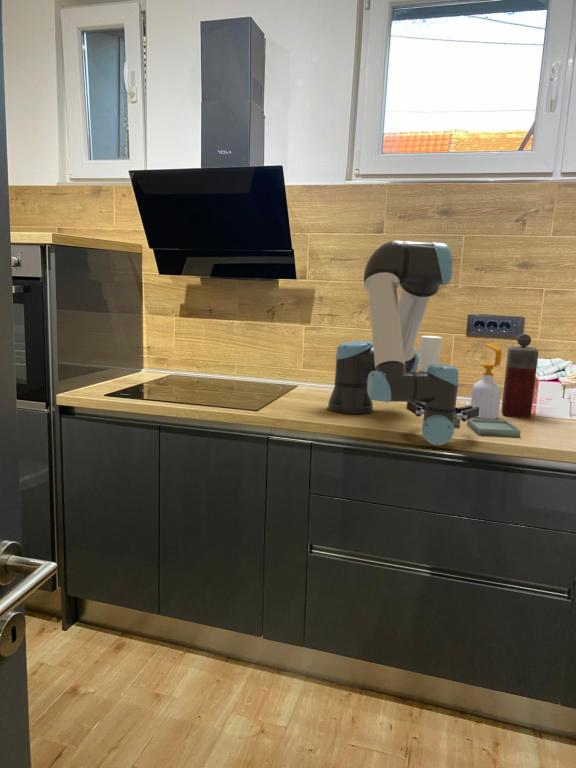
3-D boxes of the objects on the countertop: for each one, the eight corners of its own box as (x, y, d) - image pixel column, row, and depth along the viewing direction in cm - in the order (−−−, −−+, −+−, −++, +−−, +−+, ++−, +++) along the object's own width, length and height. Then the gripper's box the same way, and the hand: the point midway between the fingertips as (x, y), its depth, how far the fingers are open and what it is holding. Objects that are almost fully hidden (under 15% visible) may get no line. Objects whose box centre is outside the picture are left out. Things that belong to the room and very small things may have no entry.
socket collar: (429, 425, 176) (430, 418, 176) (423, 418, 185) (424, 411, 185) (459, 427, 176) (460, 419, 176) (452, 420, 185) (452, 412, 185)
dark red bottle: (527, 411, 202) (537, 333, 197) (530, 418, 192) (540, 335, 187) (501, 409, 205) (509, 331, 200) (502, 415, 194) (511, 334, 189)
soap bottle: (475, 412, 198) (482, 342, 194) (501, 416, 193) (509, 344, 188) (465, 416, 191) (472, 343, 187) (492, 421, 186) (500, 346, 181)
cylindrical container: (419, 402, 210) (424, 335, 206) (438, 405, 207) (444, 337, 202) (412, 406, 204) (418, 336, 199) (432, 409, 200) (438, 338, 196)
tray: (478, 435, 168) (478, 428, 167) (467, 424, 180) (467, 418, 179) (520, 437, 167) (520, 430, 167) (505, 426, 179) (506, 420, 179)
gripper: (392, 426, 157) (401, 410, 177) (487, 437, 150) (485, 419, 170) (394, 400, 155) (402, 387, 175) (490, 409, 148) (487, 395, 168)
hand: (443, 403), depth 173 cm, fingers open, 13 cm apart
